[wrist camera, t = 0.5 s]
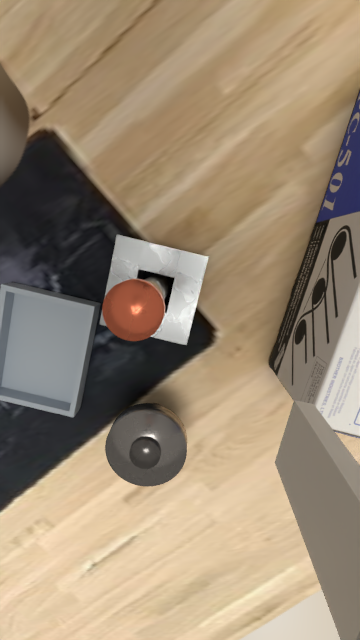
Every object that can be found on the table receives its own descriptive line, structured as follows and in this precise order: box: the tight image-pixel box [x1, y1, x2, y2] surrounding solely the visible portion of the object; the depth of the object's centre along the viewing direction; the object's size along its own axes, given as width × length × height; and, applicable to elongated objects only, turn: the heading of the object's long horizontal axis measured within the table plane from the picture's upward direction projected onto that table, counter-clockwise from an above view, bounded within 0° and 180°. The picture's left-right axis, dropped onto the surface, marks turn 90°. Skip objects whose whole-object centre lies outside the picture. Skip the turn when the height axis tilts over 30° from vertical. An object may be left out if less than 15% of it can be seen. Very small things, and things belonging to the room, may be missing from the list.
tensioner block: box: [99, 235, 209, 345], centre depth 36 cm, size 9×9×5 cm
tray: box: [0, 282, 101, 417], centre depth 39 cm, size 13×10×2 cm
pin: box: [102, 274, 170, 341], centre depth 30 cm, size 4×4×16 cm
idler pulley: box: [105, 403, 187, 486], centre depth 37 cm, size 8×8×9 cm
